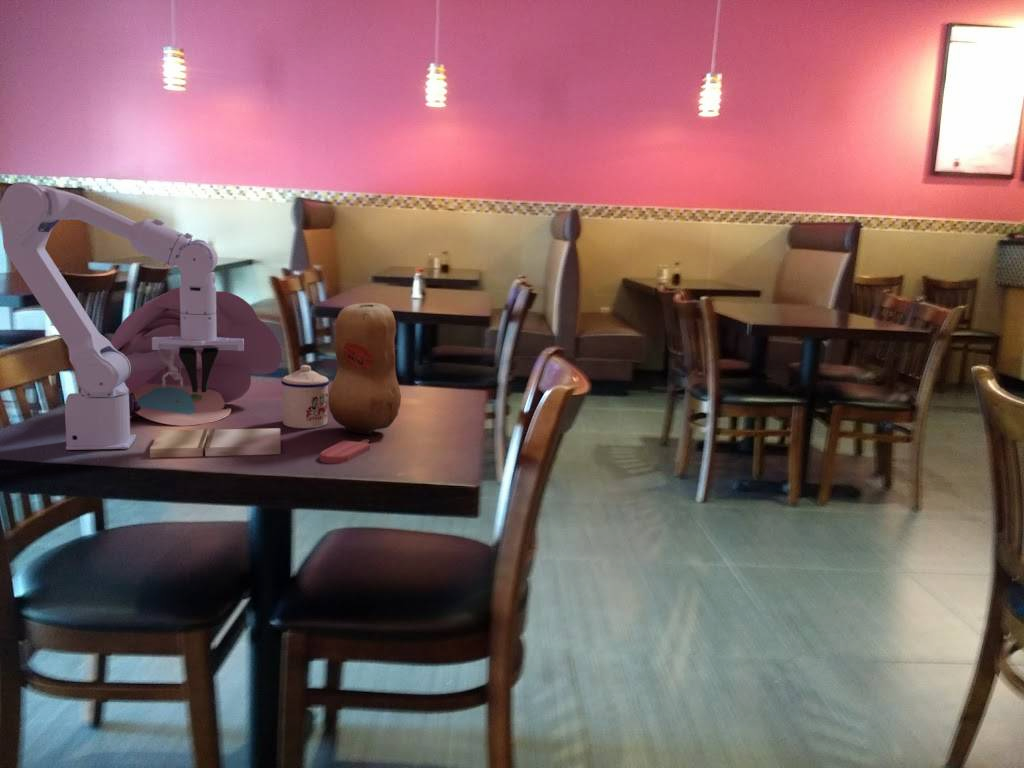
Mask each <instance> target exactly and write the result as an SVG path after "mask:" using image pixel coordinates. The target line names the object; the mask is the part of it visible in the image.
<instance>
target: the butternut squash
mask: <svg viewBox="0 0 1024 768" xmlns="http://www.w3.org/2000/svg"><path fill="white" fill-rule="evenodd" d="M335 320H336V321H335V335H334V349H335V350H334V352H335V358H336V360H337V368H336V369H337V371H336V373H335V374H336V375H335V377H334V379H333V381H332V384H331V386H330V388H329V392H328V410H329V411H330V414H331V416H332V418H333V420H335V422H337V423H338V424H339V426H340V425H341V426H342V427H344V428H346V429H347V430H349V431H350V432H353V433H356V434H365V435H369V434H372V432H374V431H377V430H382V429H383V430H384V429H387V428H389V427H390V426H391V425H392V424H393V422H395V419H396V418H397V417H398V415H399V409H400V407H401V403H402V399H401V398H402V395H401V390H400V386H399V385H400V384H399V381H398V378H397V374H396V350H395V349H396V348H395V337H396V333H397V323H396V318H395V316H394V312H393V311H392V310H391V308H390V307H389V306H387V305H386V304H383V303H377V302H361V303H354V304H350V305H348V306H345V307H343V308H342V309H341V310H340V312H339V313H338V316H337V318H336V319H335Z"/></svg>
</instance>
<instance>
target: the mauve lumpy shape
mask: <svg viewBox="0 0 1024 768" xmlns="http://www.w3.org/2000/svg"><path fill="white" fill-rule="evenodd" d="M216 329H217V337H222V338H240V339H244V351H237V350H218V351H219V352H218V354H217V356H216V358H215V361H214V363H213V366H212V368H211V371H210V375H209V378H208V383H207V391H206V392H202V390H201V385H202V359H201V353H202V351H203V350H197V380H198V391H197V392H192V386H191V382H190V378H189V376H188V373H187V371H186V368H185V366H184V364H183V362H182V361H181V359H180V357H179V349H159V350H152V338H153V337H181V327H180V286H178V287H176V288H173V289H171V290H169V291H167V292H164V293H163V294H160V295H159V296H156V297H155V298H152V299H150V300H148V301H146V302H144V305H142V306H140V307H138V308H137V309H135V310H134V311H132V312H131V313H129V315H127V317H126V318H125V319H124V320H123V321H122V322H121V323H120V325H119V326H118V327H117V329H116V330H115V332H114V334H113V336H112V338H111V340H110V342H111V344H112V346H113V347H114V348H115V349H116V350H117V351H119V352H121V353H122V354H124V355H125V356H126V357H127V358H128V360H129V362H130V365H131V372H130V375H129V377H128V378H127V380H126V381H124V382H125V385H126V386H127V388H128V389H129V413H130V419H132V418H133V417H137V416H141V417H143V418H145V419H147V420H150V421H152V422H156V423H159V424H163V425H164V424H165V425H171V426H178V427H179V426H181V427H182V426H183V427H188V426H197V425H202V424H207V423H213V422H218V421H220V420H222V419H224V418H227V417H228V416H229V415H230V414H231V412H232V408H225V405H226V404H227V403H228V404H229V403H230V402H234V401H236V400H239V399H240V398H241V397H243V396H244V395H245V394H247V392H248V391H249V390H250V388H251V387H250V386H251V382H252V380H251V379H252V377H251V376H252V375H251V374H255V375H268V374H271V373H272V374H273V373H274V372H276V371H277V370H278V369H279V367H280V365H281V362H282V349H281V345H280V341H279V339H278V338H277V336H276V334H275V333H274V332H273V330H272V329H271V328H270V327H269V326H268V325H267V324H266V323H265V322H264V321H262V320H261V319H260V318H258V315H257V312H256V311H255V310H254V308H253V307H252V305H250V303H249V302H247V300H246V299H243V298H242V297H241V296H238V295H236V294H234V293H230V292H227V291H219V290H218V291H217V290H216ZM187 346H191V345H187ZM206 347H212V346H210V345H208V346H206Z"/></svg>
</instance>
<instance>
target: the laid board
mask: <svg viewBox="0 0 1024 768" xmlns="http://www.w3.org/2000/svg"><path fill="white" fill-rule="evenodd" d="M209 434H210V431H209V429H208V428H205V429H180V430H179V429H175V430H174V429H167V430H165V429H164V430H159V432H158V434H157V435H156V437H155V439H154V441H153V442H152V444H151V446H150V448H149V458H155V459H156V458H187V457H191V458H192V457H193V458H194V457H196V458H197V457H203V456H204V454H205V446H206V443H207V440H208V437H209Z"/></svg>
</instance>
